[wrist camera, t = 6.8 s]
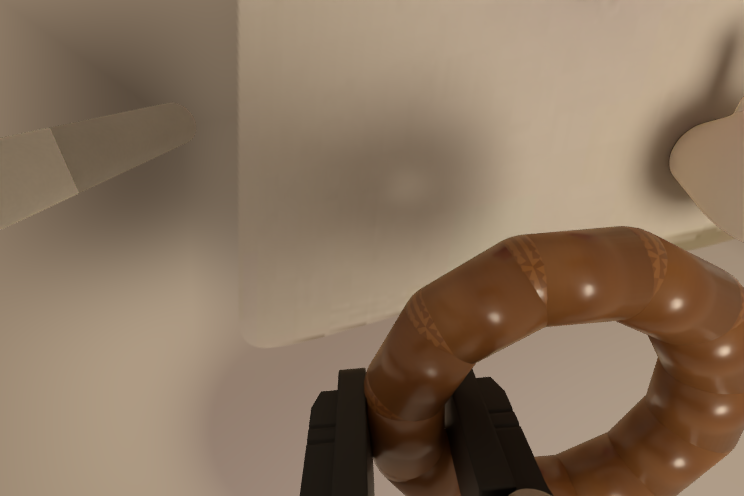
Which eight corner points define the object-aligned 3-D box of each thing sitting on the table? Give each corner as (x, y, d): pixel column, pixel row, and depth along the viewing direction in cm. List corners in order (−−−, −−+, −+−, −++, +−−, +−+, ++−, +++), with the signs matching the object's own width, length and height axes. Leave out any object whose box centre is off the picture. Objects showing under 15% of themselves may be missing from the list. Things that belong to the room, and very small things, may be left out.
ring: (379, 495, 13) (382, 565, 11) (348, 235, 9) (345, 279, 7) (664, 471, 13) (713, 537, 11) (768, 198, 9) (874, 233, 7)
